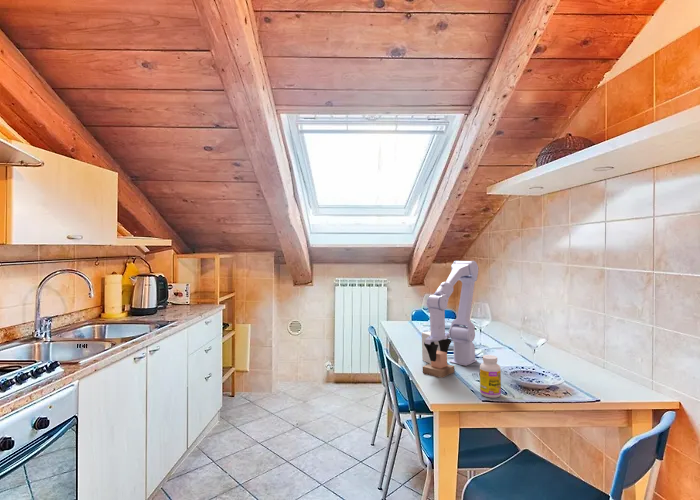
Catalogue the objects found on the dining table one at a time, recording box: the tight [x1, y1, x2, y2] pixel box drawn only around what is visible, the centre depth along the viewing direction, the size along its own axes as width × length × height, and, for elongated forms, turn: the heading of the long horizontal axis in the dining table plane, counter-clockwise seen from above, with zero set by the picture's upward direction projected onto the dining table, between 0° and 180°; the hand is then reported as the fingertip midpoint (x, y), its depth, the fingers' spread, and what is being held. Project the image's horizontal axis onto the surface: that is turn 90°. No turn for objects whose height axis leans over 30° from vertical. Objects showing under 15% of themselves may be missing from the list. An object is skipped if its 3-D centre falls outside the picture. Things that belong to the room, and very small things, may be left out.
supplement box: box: [421, 330, 440, 364], centre depth 170 cm, size 7×7×13 cm
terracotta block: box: [431, 350, 448, 369], centre depth 155 cm, size 4×4×6 cm
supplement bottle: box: [479, 354, 502, 399], centre depth 131 cm, size 7×7×13 cm
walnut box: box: [422, 363, 455, 378], centre depth 155 cm, size 9×9×3 cm
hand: (438, 358), depth 155 cm, fingers open, 7 cm apart
